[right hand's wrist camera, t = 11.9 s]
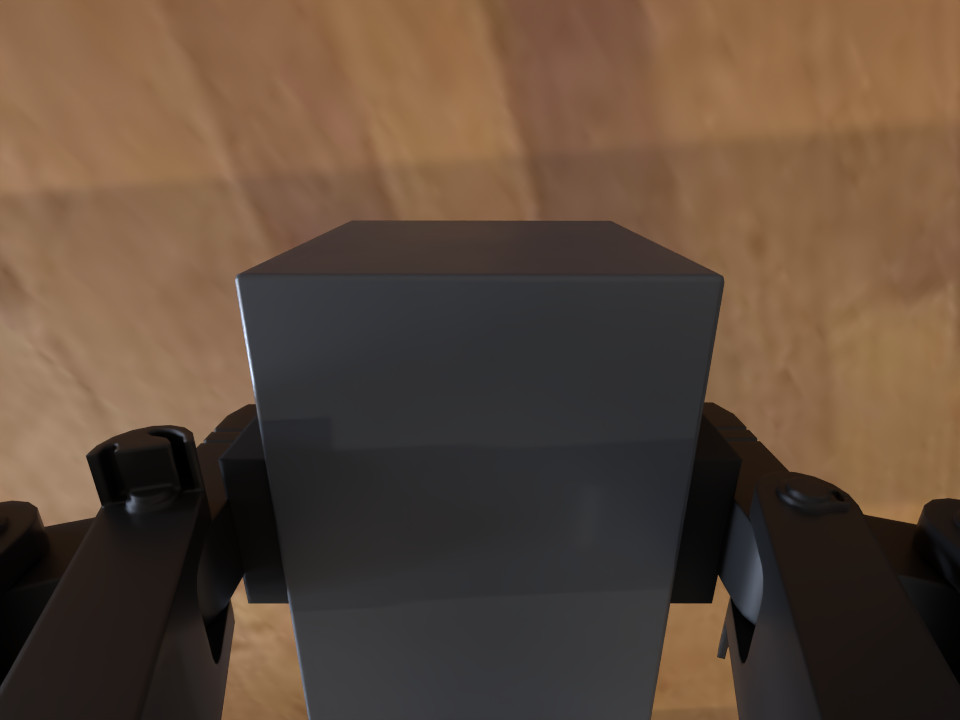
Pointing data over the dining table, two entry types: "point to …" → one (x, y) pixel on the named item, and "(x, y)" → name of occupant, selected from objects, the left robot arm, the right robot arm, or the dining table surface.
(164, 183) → the dining table surface
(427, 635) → the grey beam
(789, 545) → the right robot arm
